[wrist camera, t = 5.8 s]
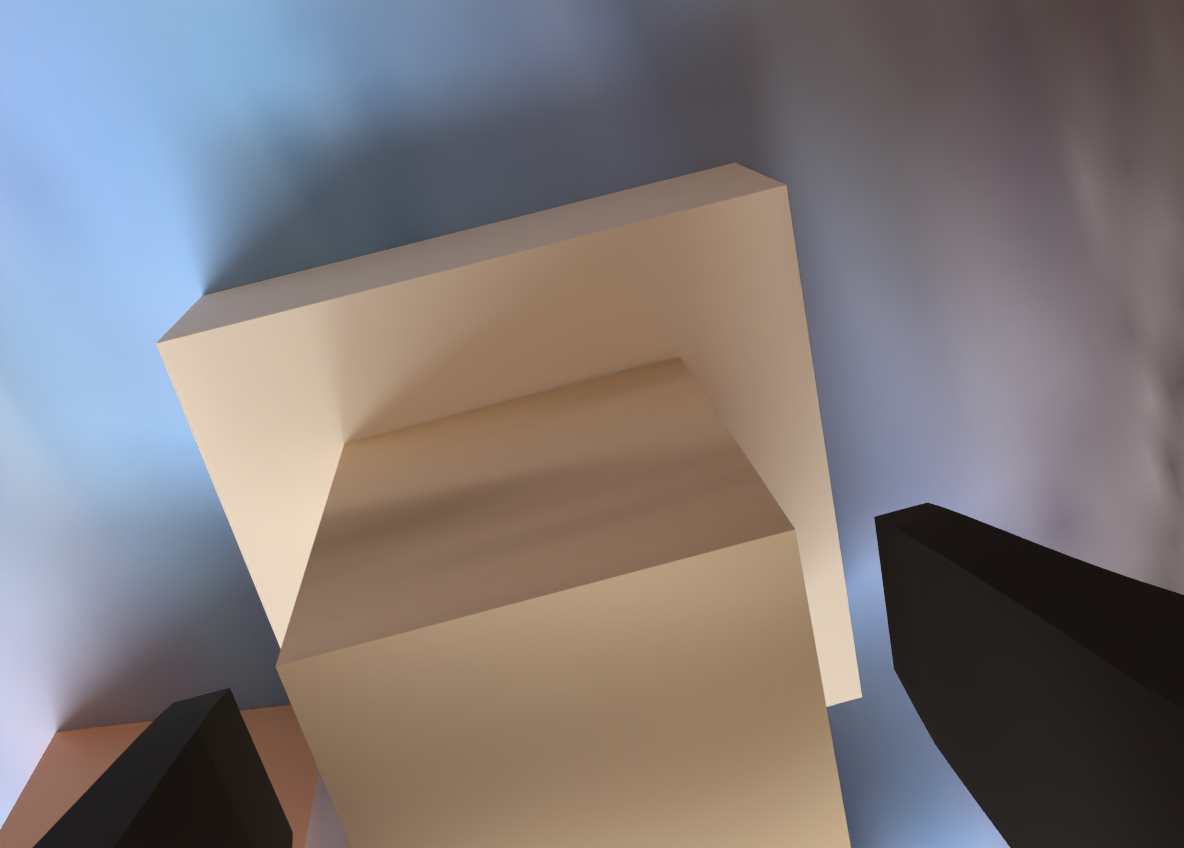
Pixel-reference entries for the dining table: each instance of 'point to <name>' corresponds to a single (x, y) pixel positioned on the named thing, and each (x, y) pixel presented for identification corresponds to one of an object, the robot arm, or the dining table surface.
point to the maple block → (563, 633)
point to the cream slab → (516, 359)
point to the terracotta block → (93, 750)
